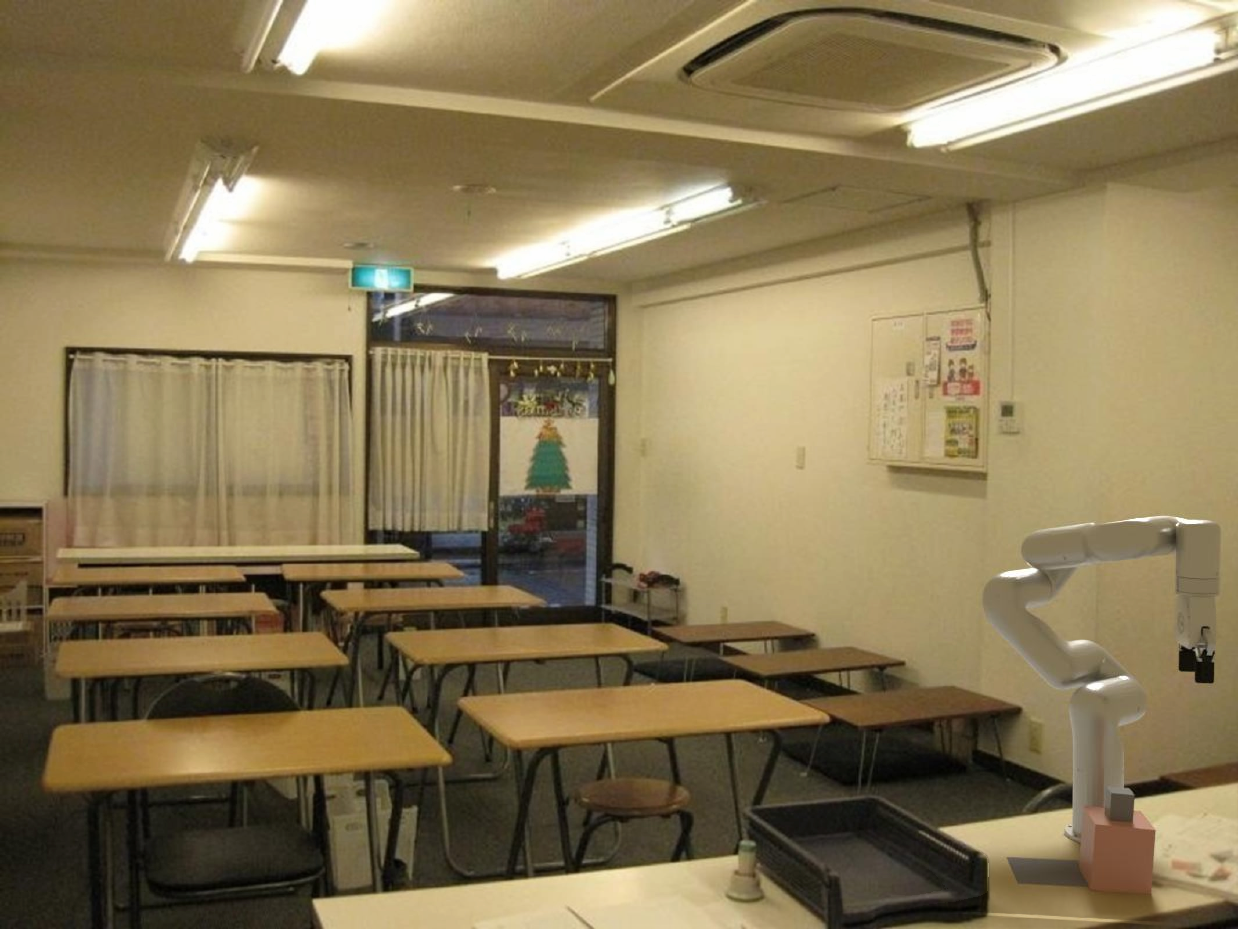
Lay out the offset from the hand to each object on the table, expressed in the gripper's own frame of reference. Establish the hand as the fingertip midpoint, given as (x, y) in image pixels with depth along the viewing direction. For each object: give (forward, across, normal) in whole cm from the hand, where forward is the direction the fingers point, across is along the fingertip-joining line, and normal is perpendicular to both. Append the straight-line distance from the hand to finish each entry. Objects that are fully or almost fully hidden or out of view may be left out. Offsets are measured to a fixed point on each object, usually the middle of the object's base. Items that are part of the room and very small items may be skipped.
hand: (1195, 677), depth 228 cm
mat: (+36, +7, -28) cm, 46 cm away
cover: (+36, +10, -16) cm, 41 cm away
